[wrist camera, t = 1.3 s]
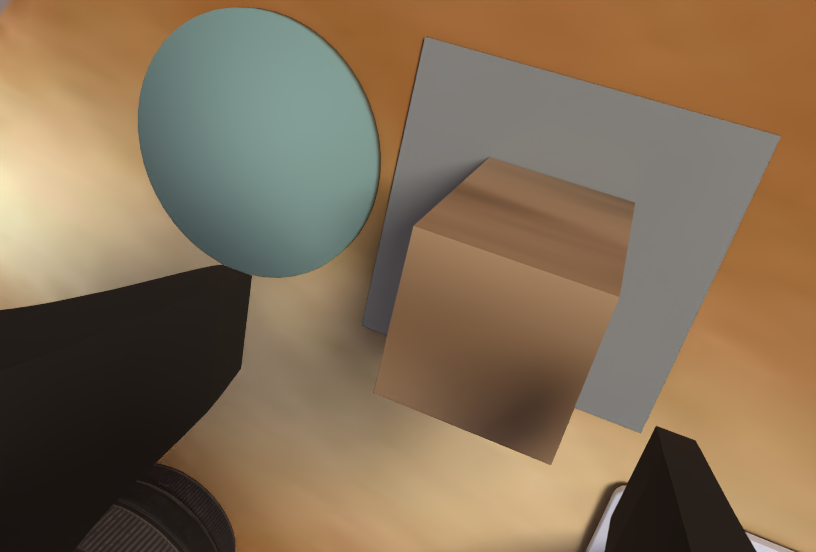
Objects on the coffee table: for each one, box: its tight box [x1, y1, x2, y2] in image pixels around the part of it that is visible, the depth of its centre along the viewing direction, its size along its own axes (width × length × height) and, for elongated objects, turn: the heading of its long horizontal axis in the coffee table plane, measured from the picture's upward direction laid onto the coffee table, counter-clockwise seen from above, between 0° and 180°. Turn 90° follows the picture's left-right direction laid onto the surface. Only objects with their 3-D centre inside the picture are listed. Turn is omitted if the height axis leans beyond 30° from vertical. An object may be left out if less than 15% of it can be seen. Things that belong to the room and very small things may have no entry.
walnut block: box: [373, 157, 635, 465], centre depth 18 cm, size 4×4×7 cm
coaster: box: [138, 7, 381, 278], centre depth 23 cm, size 9×9×1 cm
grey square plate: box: [362, 37, 781, 433], centre depth 21 cm, size 10×10×1 cm
